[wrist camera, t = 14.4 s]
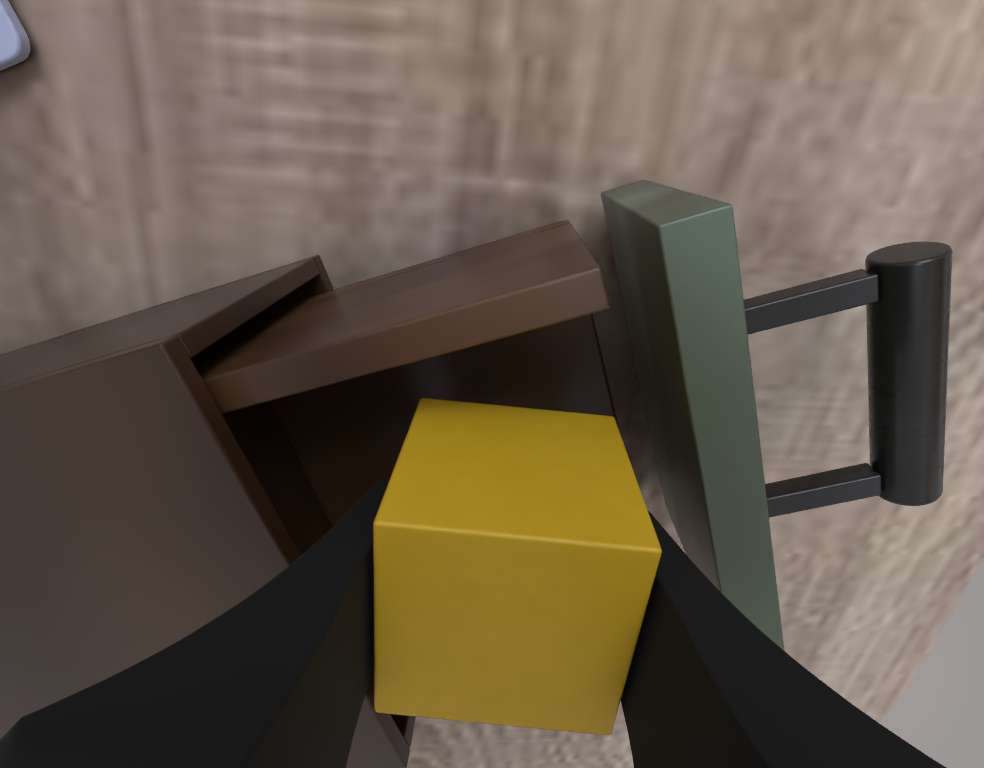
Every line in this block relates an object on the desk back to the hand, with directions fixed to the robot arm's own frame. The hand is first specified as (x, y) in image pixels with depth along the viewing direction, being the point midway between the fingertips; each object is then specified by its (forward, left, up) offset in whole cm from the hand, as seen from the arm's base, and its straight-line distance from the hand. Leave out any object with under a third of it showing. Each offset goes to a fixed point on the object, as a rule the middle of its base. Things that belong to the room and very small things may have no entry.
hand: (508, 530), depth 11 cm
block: (0, 0, -2) cm, 2 cm away
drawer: (0, +1, -6) cm, 7 cm away
